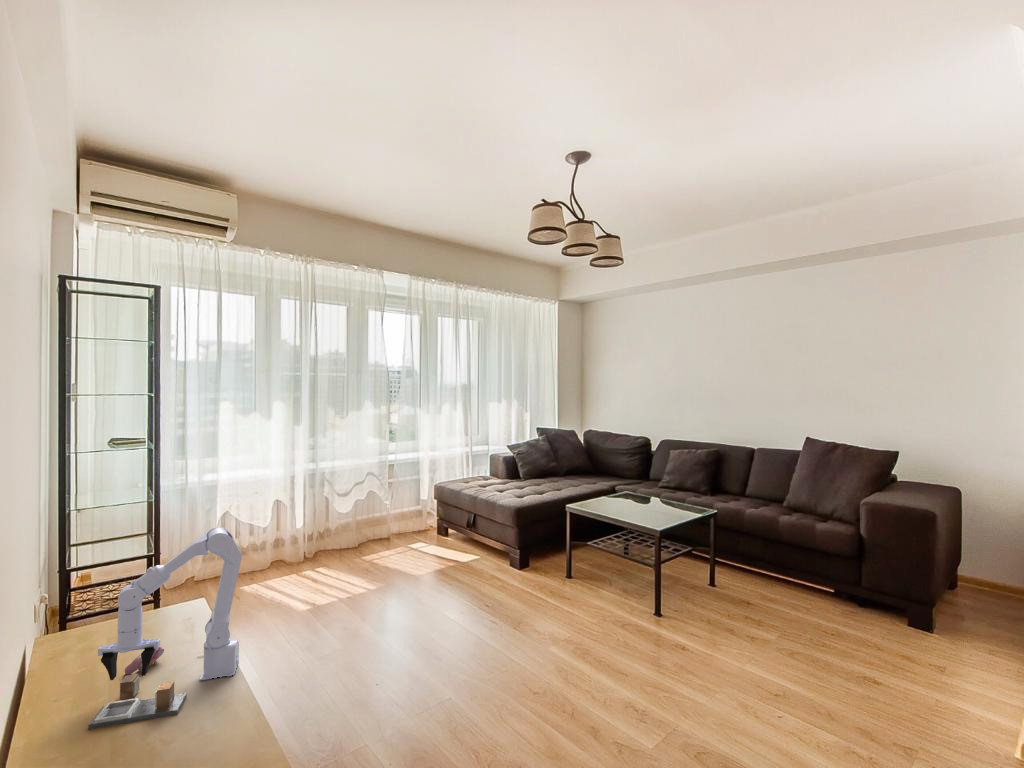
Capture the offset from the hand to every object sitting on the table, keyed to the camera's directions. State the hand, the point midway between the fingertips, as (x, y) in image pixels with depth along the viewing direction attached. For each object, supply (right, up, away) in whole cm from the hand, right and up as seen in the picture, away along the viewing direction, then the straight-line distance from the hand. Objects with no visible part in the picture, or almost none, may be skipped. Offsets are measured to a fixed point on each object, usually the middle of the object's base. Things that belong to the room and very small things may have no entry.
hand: (129, 676), depth 145 cm
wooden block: (0, -6, 0) cm, 6 cm away
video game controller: (-6, -6, +15) cm, 17 cm away
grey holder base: (+9, -5, -8) cm, 13 cm away
